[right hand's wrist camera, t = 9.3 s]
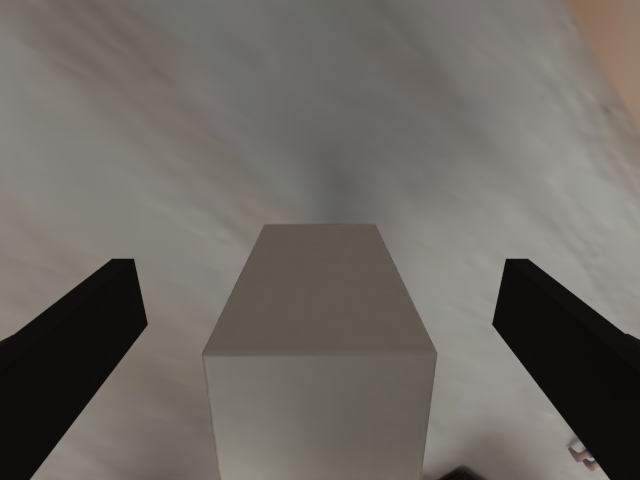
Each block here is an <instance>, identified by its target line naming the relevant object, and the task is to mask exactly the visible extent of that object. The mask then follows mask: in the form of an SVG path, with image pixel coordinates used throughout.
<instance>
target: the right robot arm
mask: <svg viewBox="0 0 640 480" xmlns="http://www.w3.org/2000/svg"><path fill="white" fill-rule="evenodd" d="M147 325H148V323H147V318H146V314H145V309H144V304H143V299H142V295H141V290H140V285H139V280H138V276H137V271H136V266H135V261H134V259H111V260H110V261H109V262H107V263H106V264H105V265H104V266H102V267H101V268H100V269H98V270H97V271H96V272H94V273H93V274H92V275H91V276H89V277H88V278H87V279H85V280H84V281H83V282H81V283H80V284H79V285H78V286H76V287H75V288H74V289H72V290H71V291H70V292H69V293H67V294H66V295H65V296H63V297H62V298H61V299H59V300H58V301H57V302H56V303H54V304H53V305H52V306H50V307H49V308H48V309H47V310H45V311H44V312H43V313H41V314H40V315H39V316H37V317H36V318H35V319H34V320H32V321H31V322H30V323H28V324H27V325H26V326H25V327H23V328H22V329H21V330H19V331H18V332H17V333H15V334H14V335H12V336H10V337H8V338H6V339H4V340H2V341H0V480H30V479H31V478H32V476H33V475H34V474H35V472H36V471H37V470H38V468H39V467H40V466H41V464H42V463H43V462H44V460H45V459H46V458H47V456H48V455H49V454H50V453H51V451H52V450H53V449H54V447H55V446H56V445H57V443H58V442H59V441H60V439H61V438H62V437H63V435H64V434H65V433H66V432H67V430H68V429H69V428H70V426H71V425H72V424H73V422H74V421H75V420H76V418H77V417H78V416H79V414H80V413H81V412H82V410H83V409H84V408H85V407H86V405H87V404H88V403H89V401H90V400H91V399H92V397H93V396H94V395H95V393H96V392H97V391H98V389H99V388H100V387H101V386H102V384H103V383H104V382H105V380H106V379H107V378H108V376H109V375H110V374H111V372H112V371H113V370H114V368H115V367H116V366H117V364H118V363H119V362H120V361H121V359H122V358H123V357H124V355H125V354H126V353H127V351H128V350H129V349H130V347H131V346H132V345H133V343H134V342H135V341H136V340H137V338H138V337H139V336H140V334H141V333H142V332H143V330H144V329H145V328H146V326H147ZM492 325H493V326H494V328H495V329H496V330H497V332H498V333H499V334H500V336H501V337H502V338H503V340H504V341H505V342H506V343H507V345H508V346H509V347H510V349H511V350H512V351H513V353H514V354H515V355H516V357H517V358H518V359H519V361H520V362H521V363H522V364H523V366H524V367H525V368H526V370H527V371H528V372H529V374H530V375H531V376H532V378H533V379H534V380H535V382H536V383H537V384H538V386H539V387H540V388H541V389H542V391H543V392H544V393H545V395H546V396H547V397H548V399H549V400H550V401H551V403H552V404H553V405H554V407H555V408H556V409H557V410H558V412H559V413H560V414H561V416H562V417H563V418H564V420H565V421H566V422H567V424H568V425H569V426H570V428H571V429H572V430H573V432H574V433H575V434H576V435H577V437H578V438H579V439H580V441H581V442H582V443H583V445H584V446H585V447H586V449H587V450H588V451H589V453H590V454H591V455H592V456H593V458H594V459H595V460H596V462H597V463H598V464H599V466H600V467H601V468H602V470H603V471H604V472H605V474H606V475H607V476H608V478H609V479H610V480H640V340H639V339H637V338H635V337H633V336H631V335H629V334H625V333H623V332H622V331H621V330H619V329H618V328H617V327H615V326H614V325H613V324H612V323H610V322H609V321H608V320H606V319H605V318H604V317H603V316H601V315H600V314H599V313H597V312H596V311H595V310H593V309H592V308H591V307H590V306H588V305H587V304H586V303H584V302H583V301H582V300H581V299H579V298H578V297H577V296H575V295H574V294H573V293H571V292H570V291H569V290H568V289H566V288H565V287H564V286H562V285H561V284H560V283H559V282H557V281H556V280H555V279H553V278H552V277H551V276H549V275H548V274H547V273H546V272H544V271H543V270H542V269H540V268H539V267H538V266H536V265H535V264H534V263H533V262H531V261H530V260H529V259H506V261H505V266H504V271H503V276H502V280H501V285H500V290H499V295H498V299H497V304H496V309H495V314H494V318H493V323H492Z"/></svg>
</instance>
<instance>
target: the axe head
mask: <svg viewBox="0 0 640 480" xmlns="http://www.w3.org/2000/svg"><path fill="white" fill-rule="evenodd" d="M448 480H475V479H473V478H472V477H471V476H470V475H468V474H467V473H463V472H459V474H457V475H456V476H454V477H453V478H451V479H448Z"/></svg>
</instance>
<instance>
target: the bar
mask: <svg viewBox="0 0 640 480" xmlns="http://www.w3.org/2000/svg"><path fill="white" fill-rule="evenodd" d="M202 357H203V364H204V371H205V378H206V386H207V393H208V400H209V407H210V414H211V421H212V428H213V435H214V442H215V449H216V456H217V463H218V470H219V477H220V480H421V474H422V466H423V459H424V451H425V443H426V436H427V428H428V420H429V413H430V405H431V397H432V389H433V382H434V374H435V366H436V359H437V352H436V350H435V347H434V345H433V343H432V341H431V339H430V337H429V335H428V333H427V331H426V329H425V327H424V325H423V322H422V320H421V318H420V316H419V314H418V312H417V310H416V308H415V306H414V304H413V302H412V300H411V297H410V295H409V293H408V291H407V289H406V287H405V285H404V283H403V281H402V279H401V277H400V275H399V272H398V270H397V268H396V266H395V264H394V262H393V260H392V258H391V256H390V254H389V252H388V249H387V247H386V245H385V243H384V241H383V239H382V237H381V235H380V233H379V231H378V229H377V227H376V225H375V224H277V225H264V227H263V229H262V231H261V233H260V235H259V237H258V239H257V241H256V243H255V245H254V247H253V250H252V252H251V254H250V256H249V258H248V260H247V262H246V264H245V266H244V268H243V270H242V272H241V274H240V276H239V278H238V281H237V283H236V285H235V287H234V289H233V291H232V293H231V295H230V297H229V299H228V301H227V303H226V305H225V307H224V309H223V311H222V314H221V316H220V318H219V320H218V322H217V324H216V326H215V328H214V330H213V332H212V334H211V336H210V338H209V340H208V342H207V345H206V347H205V349H204V351H203V353H202Z"/></svg>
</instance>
